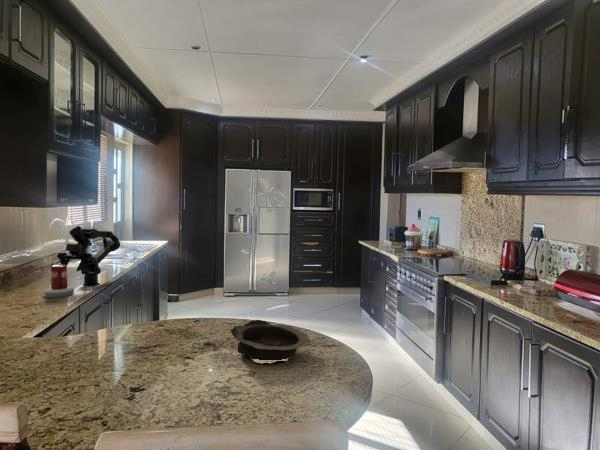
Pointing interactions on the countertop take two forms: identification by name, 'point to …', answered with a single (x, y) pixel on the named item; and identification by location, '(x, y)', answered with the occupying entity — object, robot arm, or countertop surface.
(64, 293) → the riser
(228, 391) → the countertop surface
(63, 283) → the soda can
